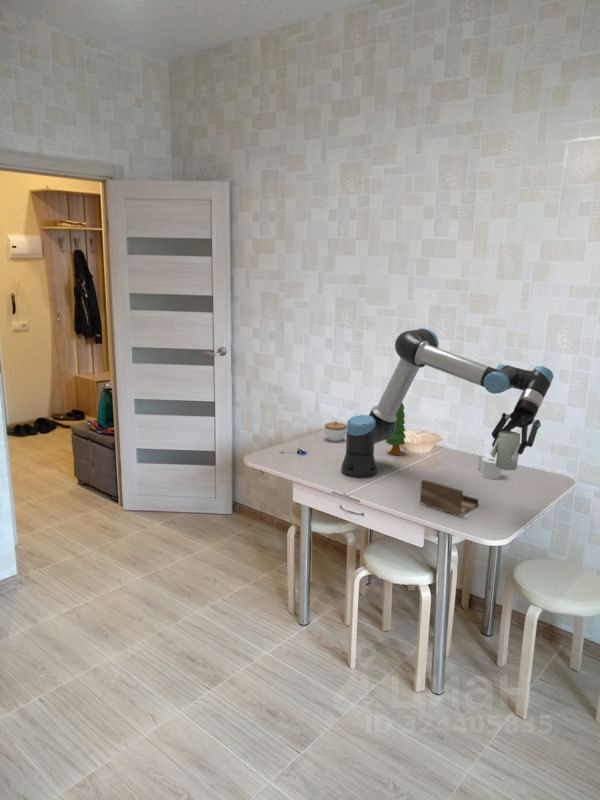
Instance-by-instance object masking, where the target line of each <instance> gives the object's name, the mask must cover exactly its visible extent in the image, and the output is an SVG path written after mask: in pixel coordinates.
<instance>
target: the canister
mask: <svg viewBox="0 0 600 800" xmlns="http://www.w3.org/2000/svg"><path fill="white" fill-rule="evenodd" d="M518 443H521V434H520V433H519V432H517V431H512V430H511V431H501V432H499V437H498V448H497V453H496V457H495V458H496V467H497V468H500V469H501V470H505V471H514V470H515V471H516V470H517V469H518V460H519V457H518V458H517V460H516V462H515V463H513V461H512V459H511V458H512V455H513V453H514V451H515V449H516V447H517V445H518Z"/></svg>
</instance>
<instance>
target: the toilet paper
mask: <svg viewBox="0 0 600 800" xmlns="http://www.w3.org/2000/svg"><path fill="white" fill-rule="evenodd" d="M496 458H497V457H492V456H478V457H477V459H478V464H477V465H478V471H480V476H481V477H482V476H483V478H485V479H490V480H497V479H500V478H502V477H501V475H502V469H500V468H497V467H496Z"/></svg>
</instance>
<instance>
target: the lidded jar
mask: <svg viewBox="0 0 600 800" xmlns="http://www.w3.org/2000/svg"><path fill="white" fill-rule="evenodd" d="M346 428H347V423H346V424H345V423H343V422H337V421H334V422H331V421H330V422H326V423H325V424H324V434H325V436H326V438H327V439H328V441H330V442H333V443H334V442H335V443H336V442H337V443H338V442H341V441H342V440H343V439H344V438H345V436H346V434H347V430H346Z"/></svg>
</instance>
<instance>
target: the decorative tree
mask: <svg viewBox="0 0 600 800" xmlns="http://www.w3.org/2000/svg"><path fill="white" fill-rule="evenodd" d="M404 410H405V405H404V403H403V402H402V403H401V405H400V407H399V409H398V411H397V413H396V417H397V420H396V422H395V424H396V429H395V432H394V434H393V435H392V436H391V437H389V438H388V439H386V440H385V443H387V444H389V445H391V446H392V447H391V449H390V451H389V452H388V454H389V455H391V456H392V455H394V456H401V454H402V451H401V448H400V446H401V445H402V446H403V445H405V444H406V441H405V439H406V434H405V431H406V429H405V426H404V425H405V424H406V423H405V417H406V416H405V411H404ZM402 455H403V454H402Z"/></svg>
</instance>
